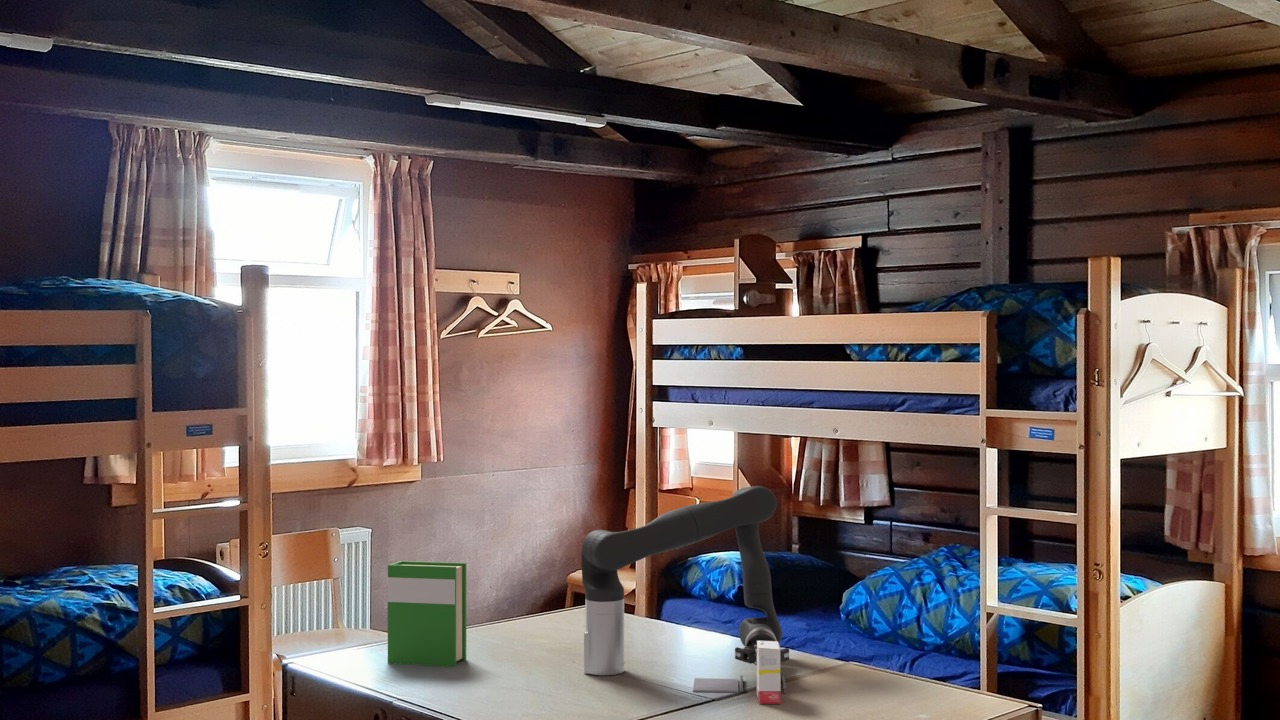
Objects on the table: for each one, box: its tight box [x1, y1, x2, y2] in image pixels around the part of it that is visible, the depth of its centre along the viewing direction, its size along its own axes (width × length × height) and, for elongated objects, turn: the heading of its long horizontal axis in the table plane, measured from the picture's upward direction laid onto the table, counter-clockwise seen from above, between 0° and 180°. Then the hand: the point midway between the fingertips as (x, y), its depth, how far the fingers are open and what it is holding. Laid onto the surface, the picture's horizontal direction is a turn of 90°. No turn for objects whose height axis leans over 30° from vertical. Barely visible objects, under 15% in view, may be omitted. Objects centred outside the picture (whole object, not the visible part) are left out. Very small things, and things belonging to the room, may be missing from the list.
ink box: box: [755, 641, 782, 705], centre depth 257 cm, size 9×5×12 cm, turn 177°
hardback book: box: [387, 560, 467, 667], centre depth 295 cm, size 18×7×24 cm, turn 77°
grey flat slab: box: [692, 675, 787, 694], centre depth 268 cm, size 20×11×1 cm, turn 86°
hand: (762, 662), depth 263 cm, fingers closed
